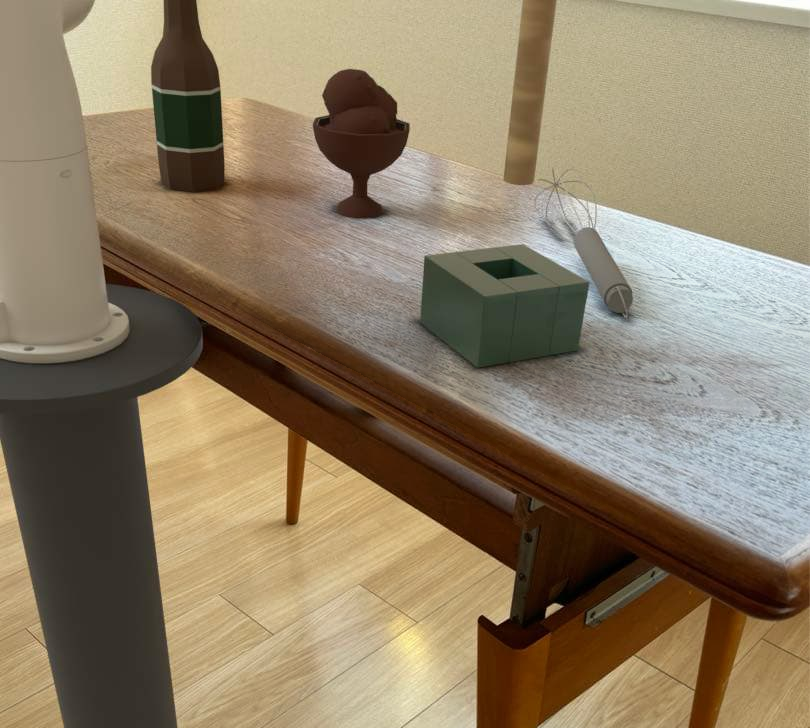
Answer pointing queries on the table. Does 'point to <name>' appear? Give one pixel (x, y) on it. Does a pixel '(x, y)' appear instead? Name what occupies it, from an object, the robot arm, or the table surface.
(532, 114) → the stick
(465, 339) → the holder
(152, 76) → the beer bottle
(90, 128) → the table surface
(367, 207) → the ice cream bowl
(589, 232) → the kitchen whisk
